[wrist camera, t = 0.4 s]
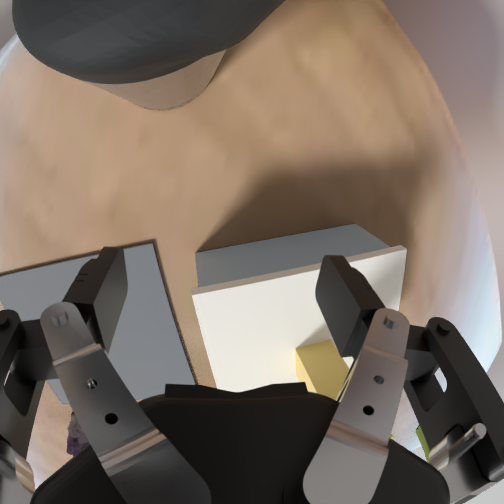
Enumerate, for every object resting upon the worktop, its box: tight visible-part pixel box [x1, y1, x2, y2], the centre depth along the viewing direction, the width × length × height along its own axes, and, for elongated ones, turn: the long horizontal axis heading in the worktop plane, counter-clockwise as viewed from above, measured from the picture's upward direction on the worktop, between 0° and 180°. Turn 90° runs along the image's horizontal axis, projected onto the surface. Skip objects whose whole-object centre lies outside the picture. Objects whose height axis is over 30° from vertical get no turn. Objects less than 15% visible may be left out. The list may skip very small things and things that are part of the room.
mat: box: [0, 242, 196, 404], centre depth 32 cm, size 22×22×1 cm
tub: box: [195, 224, 390, 287], centre depth 32 cm, size 18×18×8 cm
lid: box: [192, 245, 407, 439], centre depth 23 cm, size 19×19×13 cm
